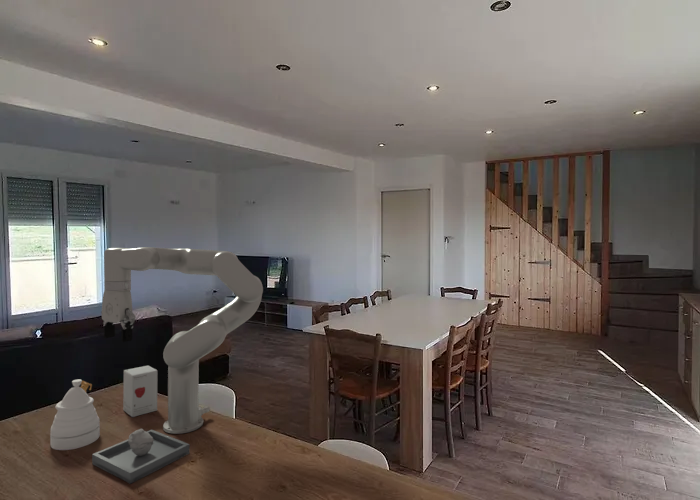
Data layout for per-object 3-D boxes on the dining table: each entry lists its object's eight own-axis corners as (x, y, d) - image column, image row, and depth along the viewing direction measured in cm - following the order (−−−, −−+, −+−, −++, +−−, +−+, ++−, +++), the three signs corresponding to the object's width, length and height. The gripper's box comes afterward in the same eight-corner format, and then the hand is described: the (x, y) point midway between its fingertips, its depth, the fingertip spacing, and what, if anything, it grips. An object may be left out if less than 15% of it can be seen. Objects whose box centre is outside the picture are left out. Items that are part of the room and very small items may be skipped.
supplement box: (131, 418, 147) (131, 375, 147) (122, 410, 154) (122, 369, 153) (158, 410, 154) (158, 369, 154) (148, 403, 160) (148, 364, 160)
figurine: (82, 408, 155) (82, 376, 155) (97, 409, 154) (97, 377, 154) (63, 418, 147) (63, 383, 146) (79, 419, 146) (78, 385, 145)
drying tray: (151, 438, 133) (151, 429, 133) (189, 453, 123) (189, 444, 123) (92, 464, 117) (92, 454, 117) (130, 483, 108) (130, 473, 108)
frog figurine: (138, 447, 124) (138, 424, 124) (158, 451, 123) (158, 427, 122) (122, 458, 118) (122, 433, 118) (143, 461, 117) (143, 436, 117)
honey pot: (57, 434, 135) (57, 378, 134) (103, 428, 139) (103, 374, 139) (44, 453, 123) (43, 392, 122) (95, 446, 127) (94, 387, 127)
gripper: (91, 285, 137) (91, 338, 137) (121, 289, 128) (122, 345, 128) (114, 283, 143) (114, 333, 144) (144, 287, 134) (145, 340, 135)
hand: (118, 339), depth 136 cm, fingers open, 9 cm apart
